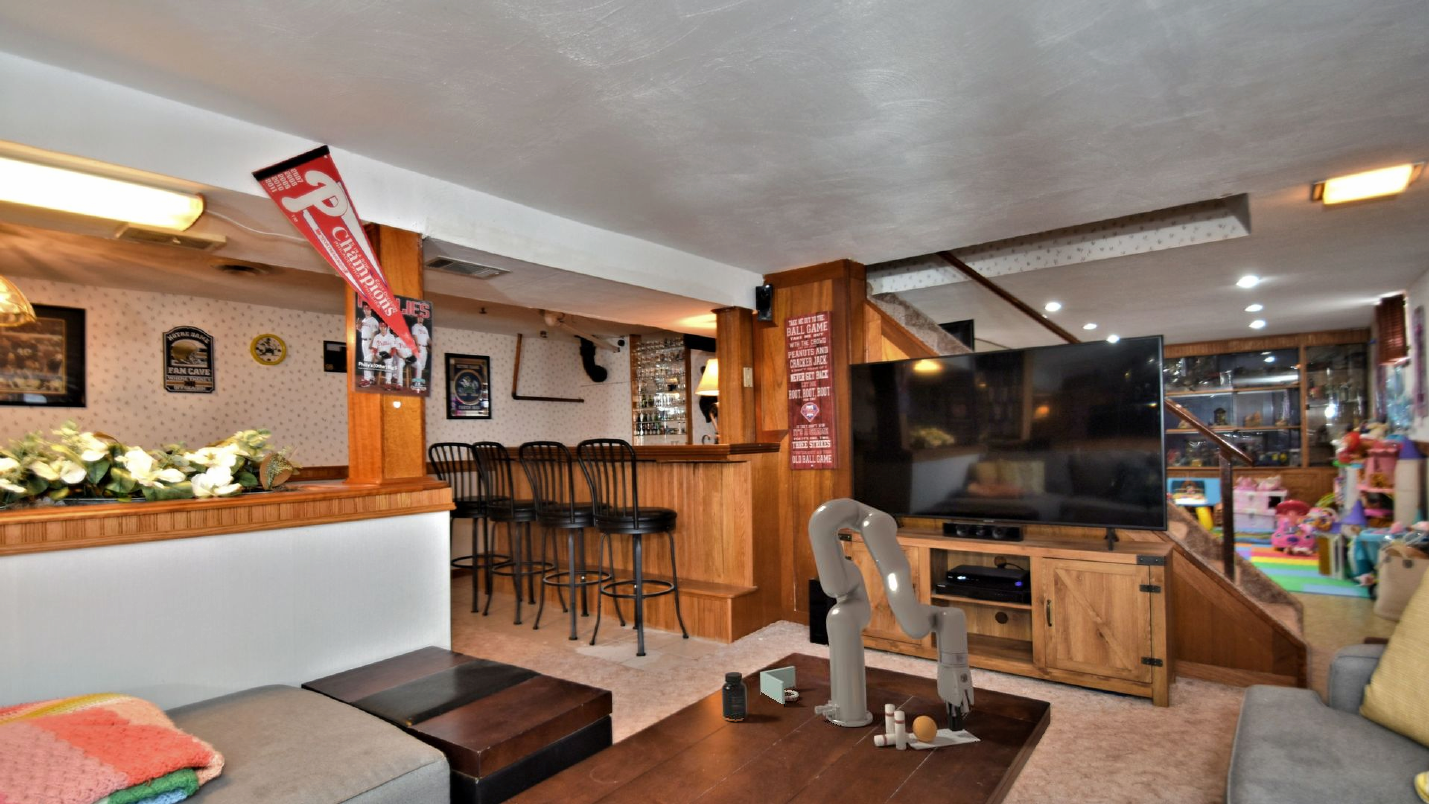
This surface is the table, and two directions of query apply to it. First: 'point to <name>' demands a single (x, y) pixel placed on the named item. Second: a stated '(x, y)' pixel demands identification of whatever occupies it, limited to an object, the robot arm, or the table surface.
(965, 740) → the lane mark
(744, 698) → the supplement bottle
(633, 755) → the table surface
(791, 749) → the table surface
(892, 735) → the front pin
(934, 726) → the ball
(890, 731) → the back pin left
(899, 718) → the back pin right
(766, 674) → the right angle wall
